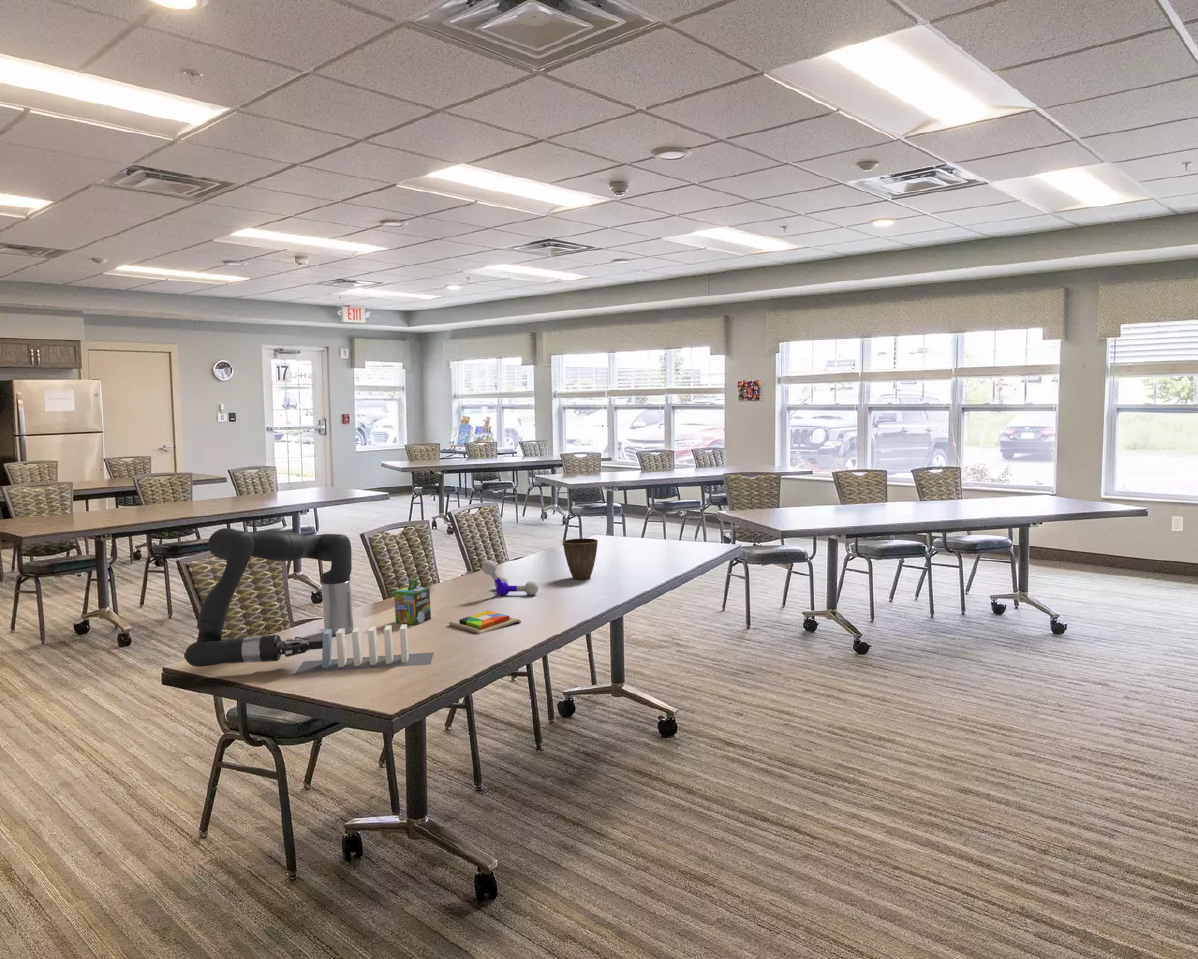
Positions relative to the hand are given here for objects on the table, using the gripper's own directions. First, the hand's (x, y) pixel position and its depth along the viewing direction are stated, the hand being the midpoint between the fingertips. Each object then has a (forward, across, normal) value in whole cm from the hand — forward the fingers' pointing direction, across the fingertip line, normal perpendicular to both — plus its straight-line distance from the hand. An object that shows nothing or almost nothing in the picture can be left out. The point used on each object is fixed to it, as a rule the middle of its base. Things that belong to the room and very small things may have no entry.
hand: (323, 644), depth 245 cm
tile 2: (+5, -1, -6) cm, 8 cm away
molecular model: (+56, -85, -7) cm, 102 cm away
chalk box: (+20, -49, -7) cm, 54 cm away
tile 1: (0, -1, -6) cm, 6 cm away
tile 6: (+23, -1, -7) cm, 24 cm away
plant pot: (+84, -107, -7) cm, 137 cm away
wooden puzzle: (+45, -39, -8) cm, 60 cm away
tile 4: (+14, -1, -7) cm, 15 cm away
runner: (+12, -1, -7) cm, 13 cm away
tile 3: (+9, -1, -6) cm, 11 cm away
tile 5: (+18, -1, -7) cm, 19 cm away
